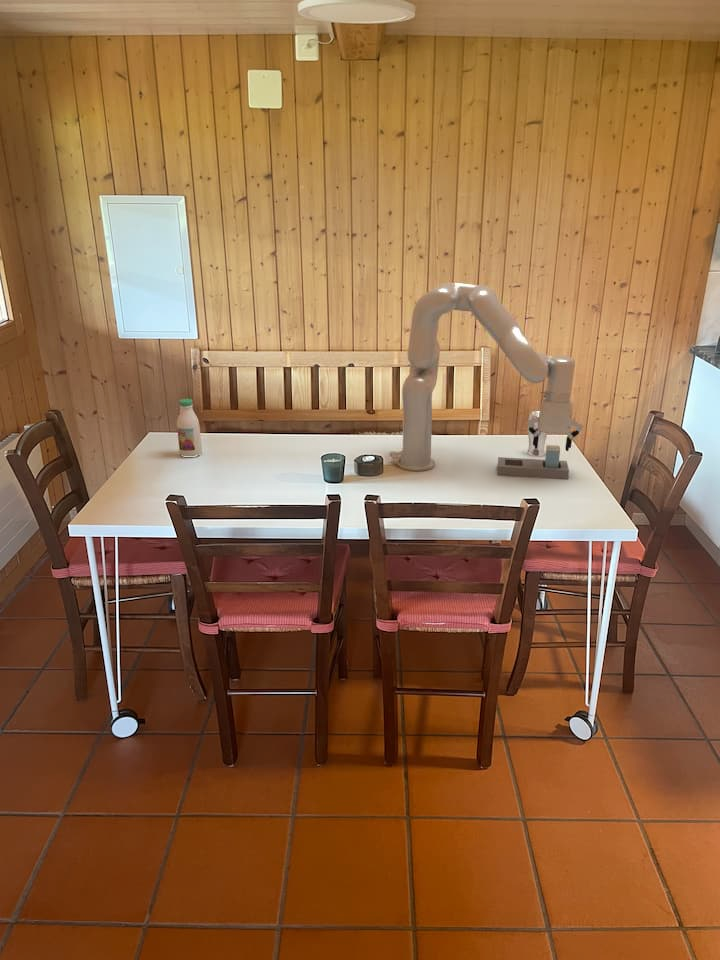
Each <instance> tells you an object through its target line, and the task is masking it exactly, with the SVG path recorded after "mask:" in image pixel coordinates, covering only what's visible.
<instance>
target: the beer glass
mask: <svg viewBox="0 0 720 960" xmlns="http://www.w3.org/2000/svg"><path fill="white" fill-rule="evenodd" d="M539 412H540V410H534V411H530V412H529V414H528V415H529V416H528V420H531V419H534V418H536V417H539ZM532 427H533V428H534V429H537V428H538V422H536V423H534V424H532ZM527 434H528V435H527V436H528V449H527V452H526V454H527V455H528V456H531V457H536V458H537V457H543V456H546V450H545V444H546V440H547V436H548V433H543V432H541V433H540V434H539V435H538V437H539V439H538V447H537V449H535V445H533V438H534V436H533V434H532V433H531V432H530V431H529V429H528V428H527Z"/></svg>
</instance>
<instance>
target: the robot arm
mask: <svg viewBox="0 0 720 960" xmlns="http://www.w3.org/2000/svg"><path fill="white" fill-rule="evenodd" d="M452 311H462V312H470V313H471V314H472V316H473V317H475V319H476V320H477V321H478V323H479V324H480V325H481V326H482V327H483V328H484V330H485V331H486V332H487V333H488V334H489V335H490V337H491V338H492V339H493V341H495V343H496V344H497V346H498V347H499V349H500V350H501V351H502V353H503V354H504V355H505V356H506V358H507V359H508V361H510V363H511V364H512V366H513V367H514V368H515V369H516V370H517V371H518V373H519V375H521V376H522V378H523V379H524V380H525V381H527V382H529V383H531V384H540V383H543V382H544V381H545V380H546V379H547V381H546V388H545V390H544V391H541V392H540V397H543V400H542V402H541V405H540V408H539V411H540V412H539V417H536V418H534V419H531V420H529V419H527V420H526V426H527V430H528V429H529V431H530V432H531V433H532V434H533V436H534V438H533V445H535V449H537V447H538V439H539V437H538V435H539V434H540V433H541V432H543V433H547V434H556V435H566V441H565V451H566V452H569V449H571V447H572V443H573V440H574V438H575V437H576V436H578V435H579V434H580V433H581V431H582V430H583V428H584V426H583V424H581V422H578V421H576V420H574V419H573V414H574V413H573V411H574V409H573V408H574V405H573V401H572V400H571V397H572V396H571V395H572V389H573V381H574V376H575V375H574V374H575V365H576V361H575V359H574V358H573V357H570V356H567V355H556V356H555V355H554V356H553V355H549V354H545V353H539V352H537V351H536V350H535V349H534V348H533V347H532V346H531V344H530V343H529V342H528V340H527V338H526V337H525V335H524V332H523V330H522V328H521V326H520V324H519V323H518V321H517V320H516V318H514V317H513V315H512V314H510V312H509V311H508V309H506V307H505V306H504V305H503V304H502V302H501V301H500V300H499V299H498V296H497V293H496V291H495V290H494V289H493V288H492V287H490V286H487V285H481V284H470V283H469V284H468V283H461V282H453V281H452V282H443V283H441V284H439V285H438V286H436V287H434V288H432V289H431V290H428V291H427V292H425V293H424V294H422V296H421V297H420V298H418V300H417V301H416V303H415V305H414V307H413V310H412V316H411V324H410V325H411V326H410V330H409V331H410V332H409V339H408V348H407V360H408V362H409V364H410V365H409V373H408V375H407V377H406V378H405V380H404V381H403V383H402V388H401V389H402V390H401V395H402V396H401V397H402V398H401V399H402V450H398V451H395V450H394V451H393V450H392V451H391V450H390V451H389V457H390V458H392V460H397V466H398V467H400V468H401V469H403V470H406V471H413V472H420V471H421V472H423V471H429V470H431V469H433V468H435V467H436V460H435V459H434V458H433V457H432V454H431V453H432V429H433V426H432V425H433V401H432V400H433V391H434V390H435V388H436V385H437V383H438V382H437V380H438V374H439V364H440V354H441V346H440V344H439V341H438V340H437V337H438V332H439V331H438V330H439V321H440V318H441V317H442V316H444V315H445V314H447V313H448V314H449V313H450V312H452ZM536 422H538V428H537V429H534V428H533V427H532V424H534V423H536ZM572 425H573V426H574V427H576V428H575V430H573V431H572Z"/></svg>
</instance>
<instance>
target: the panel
mask: <svg viewBox="0 0 720 960" xmlns="http://www.w3.org/2000/svg"><path fill="white" fill-rule="evenodd" d="M544 466H545V459H538V458H518V457H517V458H516V457H501V456H498V458H497V474H496V475H497V476H502V477H520V478H531V479H532V478H536V479H537V478H538V479H553V480H569V473H570V468H569V466H568V461H567V460H559V466H558V468H547V467H544Z"/></svg>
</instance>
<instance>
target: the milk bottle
mask: <svg viewBox="0 0 720 960" xmlns="http://www.w3.org/2000/svg"><path fill="white" fill-rule="evenodd" d="M178 405H179V408H180V409H179V415H178V417H177V420H176V427H177V428H176V431H177V439H178V450H179V454H181V455H183V456H195V455H199V454H201V453H202V454H203V447H202V438H201V427H200V426H201V425H200V422H199V421H200V420H199V419H198V417H197V415H196V413H195V411H194V408H193V406H194V405H193V399H191V398H183V399H182V398H181V399H179V401H178ZM202 454H201V455H202ZM181 455H180V456H181Z"/></svg>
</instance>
